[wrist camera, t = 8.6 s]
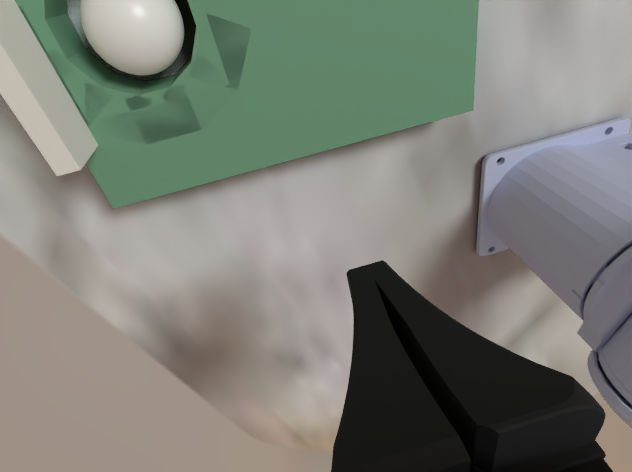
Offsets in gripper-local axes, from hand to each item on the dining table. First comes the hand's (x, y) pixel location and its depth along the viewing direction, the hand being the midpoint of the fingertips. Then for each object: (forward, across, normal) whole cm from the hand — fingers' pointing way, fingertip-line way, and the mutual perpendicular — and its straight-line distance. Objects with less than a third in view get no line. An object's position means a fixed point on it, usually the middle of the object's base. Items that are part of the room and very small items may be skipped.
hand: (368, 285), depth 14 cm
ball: (+8, +6, -9) cm, 13 cm away
